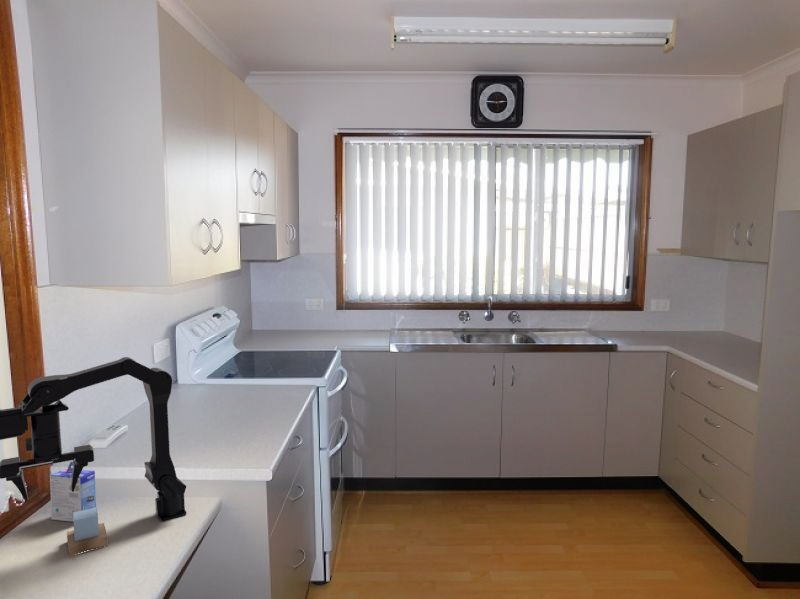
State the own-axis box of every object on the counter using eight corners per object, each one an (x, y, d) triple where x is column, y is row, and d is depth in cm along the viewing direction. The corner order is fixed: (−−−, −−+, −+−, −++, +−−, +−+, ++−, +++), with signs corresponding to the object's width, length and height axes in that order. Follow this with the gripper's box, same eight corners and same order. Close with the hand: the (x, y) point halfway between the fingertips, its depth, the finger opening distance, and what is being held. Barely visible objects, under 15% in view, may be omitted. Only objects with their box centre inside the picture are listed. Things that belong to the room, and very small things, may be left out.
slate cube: (98, 526, 136) (96, 507, 135) (98, 535, 131) (97, 515, 131) (74, 532, 133) (73, 512, 133) (74, 541, 129) (73, 520, 129)
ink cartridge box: (98, 513, 148) (95, 461, 147) (82, 523, 143) (79, 469, 142) (67, 510, 150) (64, 459, 149) (50, 520, 145) (47, 467, 144)
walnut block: (104, 534, 138) (103, 522, 138) (108, 547, 132) (107, 535, 131) (67, 543, 134) (66, 531, 133) (69, 558, 127) (68, 546, 127)
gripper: (89, 416, 140) (92, 475, 141) (-1, 430, 130) (3, 493, 131) (92, 427, 131) (96, 490, 132) (-5, 443, 121) (0, 511, 122)
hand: (50, 495), depth 130 cm, fingers open, 9 cm apart
